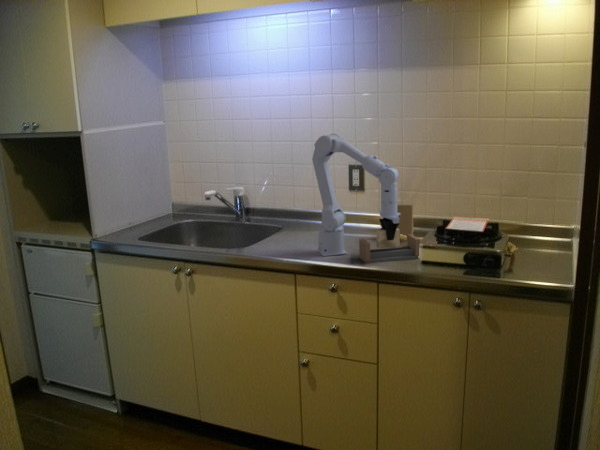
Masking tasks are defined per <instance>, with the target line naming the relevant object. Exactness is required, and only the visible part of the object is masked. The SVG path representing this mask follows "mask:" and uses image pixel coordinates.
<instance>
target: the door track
mask: <svg viewBox="0 0 600 450" xmlns="http://www.w3.org/2000/svg"><path fill="white" fill-rule="evenodd" d="M358 240H359V241H358V243H359V244H358V245H359V246H358V247H359V248H358V249H359V251H358V252H359V254H358V255H359V256H358V257H359V259H361V260H362V261H363V262H364V263H365V264H371V263H381V262H383V263H384V262H385V263H386V262H395V261H403V260H404V261H405V260H414V259H419V258H418V256H419V244H420V245H421V239H420V238H419V237H417V236H415V235H414V234H413V235H412V234H407V241H406V245H405V246H395V247H385V248H374V249H372V248H371V242H369V241H367V240H366V239H365V238H359V239H358Z"/></svg>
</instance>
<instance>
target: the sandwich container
mask: <svg viewBox="0 0 600 450" xmlns="http://www.w3.org/2000/svg"><path fill="white" fill-rule="evenodd" d="M397 213H400V216H398V217H399V222H400V223H399V225H398V227H397V229H399V230H400V234H403V235H406V236H407V234H412V235H413V236H414V234H413V232H414V231H415V230H414V229H415V228H414V218H413V217H414V213H413V204H397ZM414 233H415V232H414ZM400 242H406V241H405V240H404V239H401V238H400Z"/></svg>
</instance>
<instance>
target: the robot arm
mask: <svg viewBox="0 0 600 450" xmlns="http://www.w3.org/2000/svg"><path fill="white" fill-rule="evenodd" d="M334 153H343V154H344V155H346V156H349V157H350V158H352V159H353V160H355V161H356V162H358V163H360V164H361V166H362V169H363V170H365V171H366V172H367V173H369V174H370V175H371V176H373V177H374V178H377V179H378V182H379V183H380V210H379V216H380V217H381V218H379V221H378V222H379V223H380V225H381V228H382V230H386V235H387V240H394V236H395V232H396V229H397V227H398V225H399V223H400V222H399V217H398V216H400V213H397V205H398V180H399V179H400V173H399V170H398V169H397V168H396V167H395V166H390V164H389V163H385V162H383V161H381V160H380V159H379V156H377V155H372V154H371V155H366V154H365V153H364V152H362V151H361V150H360V149H358V148H357V147H356V146H354V145H353V144H352V143H350V142H349V141H347V139H345V138H344V137H342V136H340V135H338V134H337V133H331V134H328V135H321V136H319V137H318V139H317V140H316V141H315V143H314V150H313V154H312V165H313V168H314V173H315V176H316V180H317V184H318V190H319V194H320V199H321V202H322V205H323V206H322V209H321V221H320V222H321V226H322V228H323V230H319V231H318V233H317V241H318V243H317V245H318V246H317V247H318V251H317V252H318V253H320V255H321V256H322V257H330V256H339V255H347V254H348V251H346V250H345V244H344V243H345V240H344V239H345V236H344V234H345V233H344V224H345V223H346V220H347V218H346V217H347V216H346V213H344V210H343V209H342V206H341V205H340V204H339V203H338V201H337V200H338V199H337V195H336V193H335V192H336V191H335V187H334V183H333V179H332V175H331V170H330V167H329V163H328V162H329V161H330V159H331V157H332V156H333V155H334Z"/></svg>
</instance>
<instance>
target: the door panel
mask: <svg viewBox="0 0 600 450" xmlns="http://www.w3.org/2000/svg"><path fill="white" fill-rule="evenodd" d="M400 243H401V241H400V230H399V229H396V232H395V236H394V240H387V235H386V230H383V229H379V230H378V229H377V230H376V247H377V249H381V248H392V247H401V244H400Z"/></svg>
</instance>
